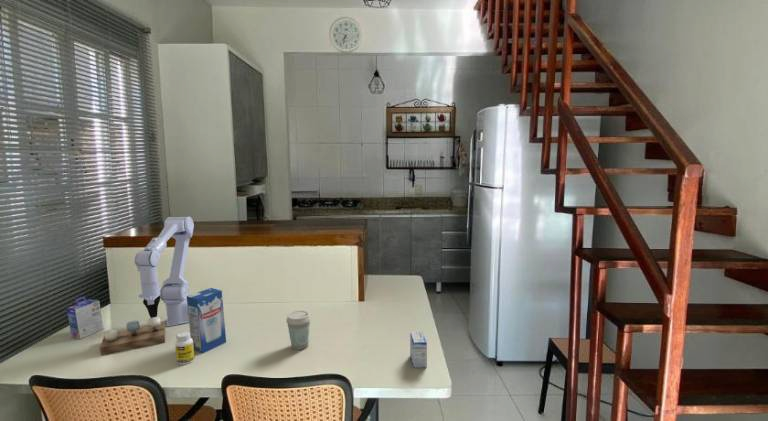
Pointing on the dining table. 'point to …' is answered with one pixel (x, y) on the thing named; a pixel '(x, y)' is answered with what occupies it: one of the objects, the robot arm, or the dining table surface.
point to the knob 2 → (154, 322)
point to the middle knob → (133, 326)
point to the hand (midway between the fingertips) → (153, 316)
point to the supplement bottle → (184, 348)
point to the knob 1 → (111, 335)
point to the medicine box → (418, 349)
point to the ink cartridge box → (84, 318)
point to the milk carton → (206, 319)
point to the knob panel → (134, 340)
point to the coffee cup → (299, 329)
